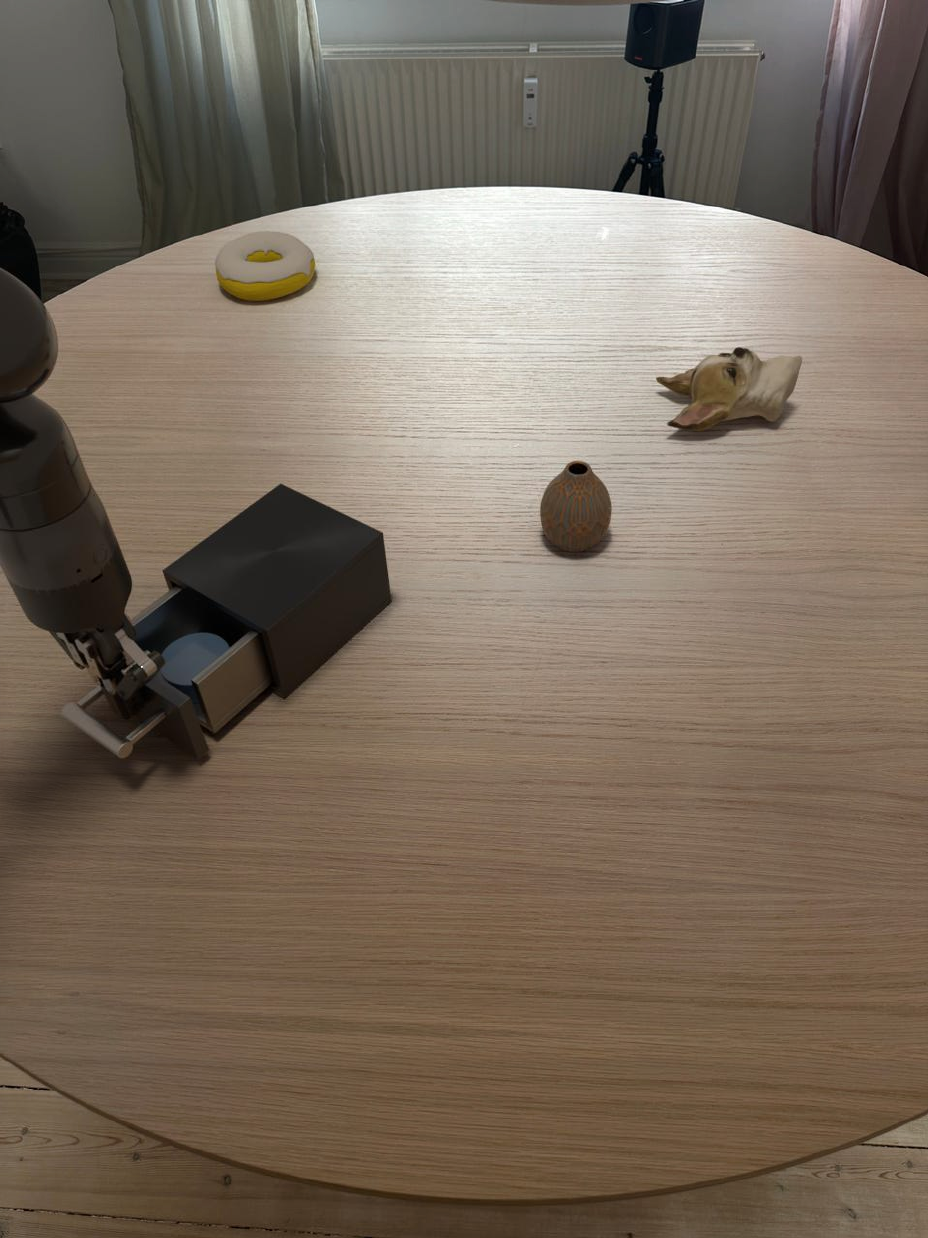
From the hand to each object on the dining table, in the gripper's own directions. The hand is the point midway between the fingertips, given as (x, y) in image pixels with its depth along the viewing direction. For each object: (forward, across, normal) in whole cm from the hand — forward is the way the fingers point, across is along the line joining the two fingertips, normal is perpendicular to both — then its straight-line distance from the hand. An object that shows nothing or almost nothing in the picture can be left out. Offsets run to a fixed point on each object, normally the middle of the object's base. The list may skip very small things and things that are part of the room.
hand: (130, 710), depth 79 cm
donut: (+5, -49, +64) cm, 81 cm away
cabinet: (+4, 0, +18) cm, 18 cm away
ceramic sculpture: (+5, +18, +70) cm, 72 cm away
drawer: (+4, 0, +5) cm, 6 cm away
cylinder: (+2, 0, +7) cm, 7 cm away
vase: (+5, +16, +42) cm, 45 cm away
